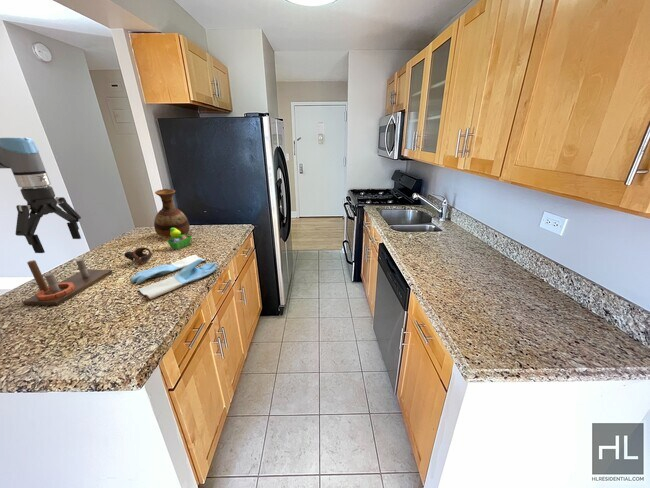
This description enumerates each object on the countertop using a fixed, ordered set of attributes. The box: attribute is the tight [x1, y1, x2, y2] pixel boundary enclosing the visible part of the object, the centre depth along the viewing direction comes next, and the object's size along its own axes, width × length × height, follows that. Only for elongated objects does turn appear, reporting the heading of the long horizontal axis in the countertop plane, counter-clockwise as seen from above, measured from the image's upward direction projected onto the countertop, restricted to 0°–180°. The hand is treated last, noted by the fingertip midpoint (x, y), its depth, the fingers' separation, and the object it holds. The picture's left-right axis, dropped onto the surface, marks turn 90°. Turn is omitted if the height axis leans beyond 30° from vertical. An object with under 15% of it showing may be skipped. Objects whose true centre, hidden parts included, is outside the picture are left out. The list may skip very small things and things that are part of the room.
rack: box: [22, 258, 113, 306], centre depth 108 cm, size 13×26×10 cm, turn 178°
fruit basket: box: [166, 228, 192, 250], centre depth 150 cm, size 11×9×11 cm
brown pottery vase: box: [153, 188, 190, 238], centre depth 165 cm, size 20×20×30 cm
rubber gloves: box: [129, 254, 219, 300], centre depth 119 cm, size 27×33×6 cm
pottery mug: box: [123, 246, 154, 266], centre depth 132 cm, size 12×10×8 cm
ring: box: [26, 259, 75, 300], centre depth 101 cm, size 11×11×14 cm
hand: (59, 245), depth 95 cm, fingers open, 13 cm apart
